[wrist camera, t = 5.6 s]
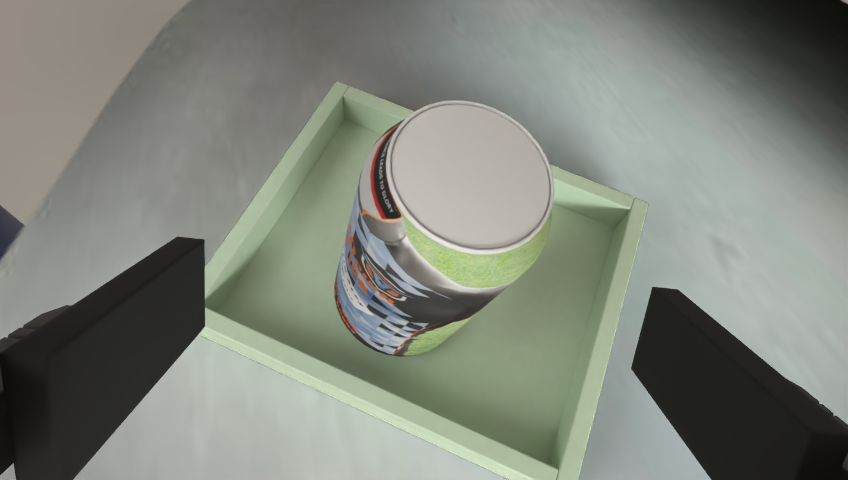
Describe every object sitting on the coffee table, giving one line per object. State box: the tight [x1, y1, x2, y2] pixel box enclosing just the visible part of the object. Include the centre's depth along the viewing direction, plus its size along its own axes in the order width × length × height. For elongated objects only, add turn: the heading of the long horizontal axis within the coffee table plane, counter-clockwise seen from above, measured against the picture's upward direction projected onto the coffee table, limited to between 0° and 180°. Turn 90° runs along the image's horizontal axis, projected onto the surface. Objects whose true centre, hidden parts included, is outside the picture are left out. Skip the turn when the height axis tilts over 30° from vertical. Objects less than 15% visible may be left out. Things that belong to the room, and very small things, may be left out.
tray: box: [198, 81, 648, 480], centre depth 25 cm, size 18×15×2 cm
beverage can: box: [334, 100, 554, 357], centre depth 20 cm, size 6×7×12 cm
